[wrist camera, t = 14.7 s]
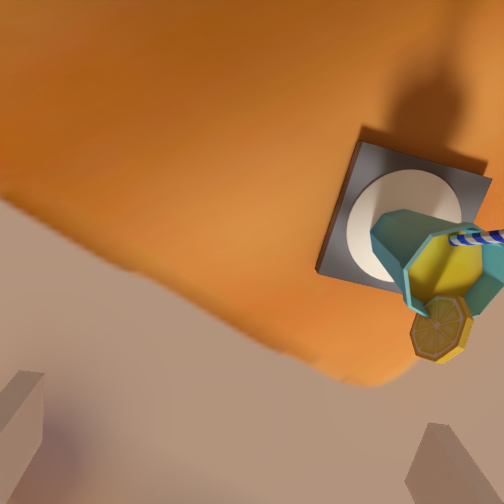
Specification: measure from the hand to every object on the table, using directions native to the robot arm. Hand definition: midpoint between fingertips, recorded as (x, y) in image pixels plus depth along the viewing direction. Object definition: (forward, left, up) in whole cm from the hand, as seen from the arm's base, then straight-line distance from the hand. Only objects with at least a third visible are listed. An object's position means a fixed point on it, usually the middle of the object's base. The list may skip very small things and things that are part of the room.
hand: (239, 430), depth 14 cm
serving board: (-5, +15, -27) cm, 31 cm away
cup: (-5, +15, -25) cm, 29 cm away
